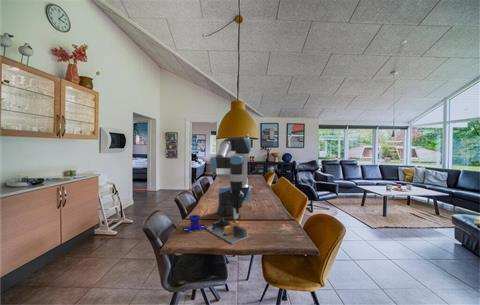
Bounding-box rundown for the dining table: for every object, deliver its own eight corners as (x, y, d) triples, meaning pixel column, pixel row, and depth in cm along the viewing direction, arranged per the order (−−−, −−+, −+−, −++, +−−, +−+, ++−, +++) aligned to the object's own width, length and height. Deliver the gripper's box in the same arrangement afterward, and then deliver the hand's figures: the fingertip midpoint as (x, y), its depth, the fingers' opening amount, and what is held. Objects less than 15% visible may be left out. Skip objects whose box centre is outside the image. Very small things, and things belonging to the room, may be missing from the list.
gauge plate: (206, 229, 145) (206, 219, 145) (222, 224, 154) (222, 215, 154) (232, 244, 124) (232, 232, 124) (249, 237, 134) (249, 226, 133)
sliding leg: (223, 233, 135) (223, 222, 135) (235, 229, 142) (235, 218, 142) (226, 235, 132) (226, 223, 132) (238, 230, 140) (239, 219, 139)
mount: (203, 225, 153) (203, 213, 152) (206, 229, 146) (206, 216, 146) (182, 229, 145) (182, 217, 145) (185, 233, 139) (185, 220, 138)
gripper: (224, 179, 131) (224, 216, 133) (238, 183, 122) (238, 222, 123) (234, 178, 137) (233, 213, 138) (248, 181, 127) (247, 219, 128)
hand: (236, 218), depth 131 cm, fingers closed
